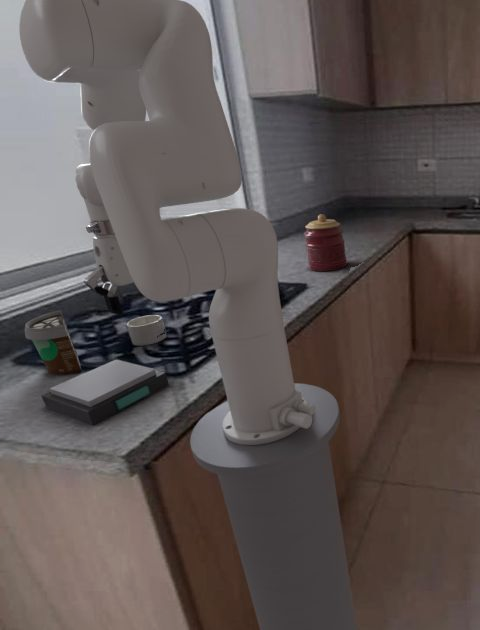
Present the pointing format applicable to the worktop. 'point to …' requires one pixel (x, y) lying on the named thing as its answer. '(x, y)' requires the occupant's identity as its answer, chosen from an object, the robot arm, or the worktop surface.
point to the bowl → (146, 330)
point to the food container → (53, 343)
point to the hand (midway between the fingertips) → (139, 305)
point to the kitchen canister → (325, 245)
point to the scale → (104, 391)
